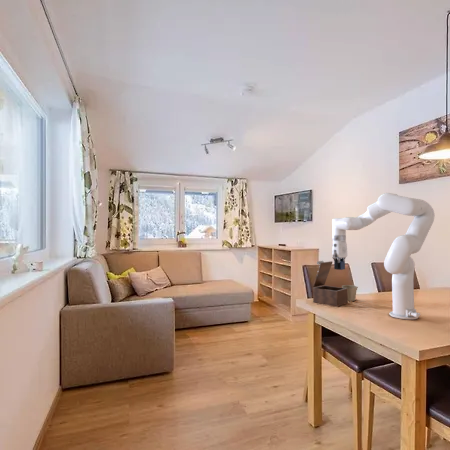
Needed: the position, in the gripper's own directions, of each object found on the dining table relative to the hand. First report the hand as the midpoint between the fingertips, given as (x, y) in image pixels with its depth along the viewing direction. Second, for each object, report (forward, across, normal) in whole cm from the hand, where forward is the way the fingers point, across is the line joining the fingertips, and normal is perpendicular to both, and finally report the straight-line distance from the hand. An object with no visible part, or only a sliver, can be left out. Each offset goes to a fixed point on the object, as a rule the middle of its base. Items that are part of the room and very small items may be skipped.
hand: (339, 268), depth 181 cm
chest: (+21, 0, +6) cm, 22 cm away
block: (0, 0, 0) cm, 0 cm away
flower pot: (+22, +15, +1) cm, 26 cm away
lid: (+4, -1, +11) cm, 12 cm away
